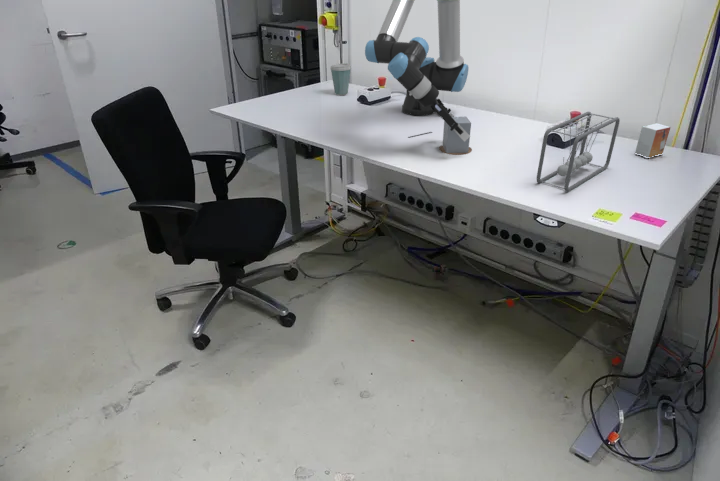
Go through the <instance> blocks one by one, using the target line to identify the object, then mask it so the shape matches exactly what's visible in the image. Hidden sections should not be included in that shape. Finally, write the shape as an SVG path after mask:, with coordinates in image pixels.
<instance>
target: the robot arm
mask: <svg viewBox="0 0 720 481" xmlns="http://www.w3.org/2000/svg"><path fill="white" fill-rule="evenodd" d="M415 1H416V0H392V2H391V4H390V7H389V9H388V11H387V13H386V15H385V18H384V21H383V23H382V25H381V26H380V30H379V32H378V33H377V37H376V39H372V40H371V39H370V40H368V41H367V42H366V44H365V48H364V55H365V58H366V60H367V61H368V62H369V63H375V64H376V63H377V64H388V65H387V70H388V72H389V73H390V74H391V75H392V77H393V78H394V79H395V80H397V82H398V83H399V84H401V86H402V87H403V88H404V89H406V94H405V97H404V101H403V103H402V106H401V112H402V113H403V114H406V115H410V116H419V117H420V116H429V115H432V114H435V113H436V114H437V115H438V116H439V117H440V118H441V119H442V120H443V122H444V121H445V122H446V123H447V124H448V125H449V126H450V127H451V129H450V130H451V131H452V130H454V131H455V132H456V133H457V135H458V136H459V137H460V138H461V139H462V140H463V141H464V142H465V141H466V140H467V139H468V138H469V137H470V138H471V134H470V135H469V134H468V133H467V132H466V131H465V130H464V129H463V128H462V127H461V126H460V125H459V124H458V123H457V122H456V121H455V120H454V119H453V118H452V117H455V115H454V114H453V113H452V110H451V108H448V107H446V106H445V104H444V103H443V102H442V100H441V99H440V98H438V97H439V95H440V91H443V92H451V93H452V92H453V93H459V92H462V91H463V89H464V87H465V85H466V83H467V80H468V79H467V78H468V75H469V65H468V64H467V63H464V61H465V60H464V57H463V56H462V55H461V0H436V1H437V21H438V22H437V24H438V27H437V28H438V48H439V49H438V50H439V51H438V52H439V53H438V54H439V57H438V58H437V59H436V60H435V58H434V57H429V56H428V57H427V55H428V54H429V50H430V49H429V48H430V47H429V46H430V45H429V43H428V41H427V40H426V39H424V38H423V37H420V36H416V37H413V38H412V39H410V40H409V41H406V42H403V41H399V39H400V36H401V34H402V31H403V29H404V26H405V24H406V22H407V20H408V17H409V14H410V12H411V10H412V7H413V5H414V3H415ZM454 123H455V124H454ZM453 124H454V125H453ZM452 125H453V126H452Z"/></svg>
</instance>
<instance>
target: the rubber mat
mask: <svg viewBox="0 0 720 481" xmlns="http://www.w3.org/2000/svg"><path fill="white" fill-rule="evenodd" d="M432 133H433V132H432V131H428V132H424V133H420V134H419V133H418V134H414V135H410V136H408V137H407V138H409V139H410V138H411V139H412V138H415V137H419V136H423V135H428V134H432Z"/></svg>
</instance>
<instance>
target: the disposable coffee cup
mask: <svg viewBox="0 0 720 481" xmlns="http://www.w3.org/2000/svg"><path fill="white" fill-rule="evenodd" d="M351 66H352V65H351V64H350V63H347V62H346V63H345V62H343V63H335V64H332V65H331V66H330V71H331V72H330V73H331V77H332V84H333V90H334V94H335V96H347V95H348V94H349V87H350V86H349V84H350V79H351V78H350V77H351V76H350V75H351V71H352V67H351ZM346 94H347V95H346Z"/></svg>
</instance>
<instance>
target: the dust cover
mask: <svg viewBox="0 0 720 481" xmlns="http://www.w3.org/2000/svg"><path fill="white" fill-rule="evenodd" d="M452 118H453V119H454V120H455V121H456V122H457V123H458V124H459V125H460V126H461V127H462V128H463V129H464V130H465V131H466V132H467V133H468V134H469V135H470V137H469V138H468V139H467V140H466V141H465V142H464V141H463V140H462V139H461V138H460V137H459V136H458V135H457V133H456V132H455V131H454V130H452V131H451V130H450V129H451V127H450V126H449V125H448V124H447V123H446V122H445V121H444V120H443V133H442V145H441V146H443V148H444V150H445V151H446V153H468V150H469V147H470V138H471V129H472V121H471V120H470V119H469V118H468V117H467V116H454V117H452ZM454 124H455V123H454ZM454 124H453V125H454ZM453 125H452V126H453ZM446 153H445V154H446ZM468 154H469V153H468Z"/></svg>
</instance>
